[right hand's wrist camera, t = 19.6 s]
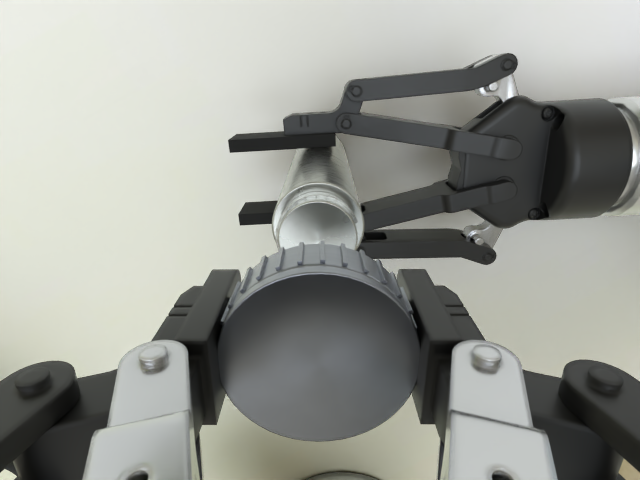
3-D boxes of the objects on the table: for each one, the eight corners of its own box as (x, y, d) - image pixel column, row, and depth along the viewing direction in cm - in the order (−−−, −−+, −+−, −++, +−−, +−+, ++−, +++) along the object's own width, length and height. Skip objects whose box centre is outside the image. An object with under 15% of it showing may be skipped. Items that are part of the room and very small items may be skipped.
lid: (273, 415, 12) (266, 466, 10) (194, 278, 10) (172, 313, 9) (432, 365, 11) (449, 411, 10) (375, 210, 10) (385, 235, 8)
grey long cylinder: (323, 119, 32) (324, 169, 15) (355, 159, 34) (387, 245, 17) (285, 152, 33) (246, 233, 16) (317, 189, 35) (311, 301, 18)
